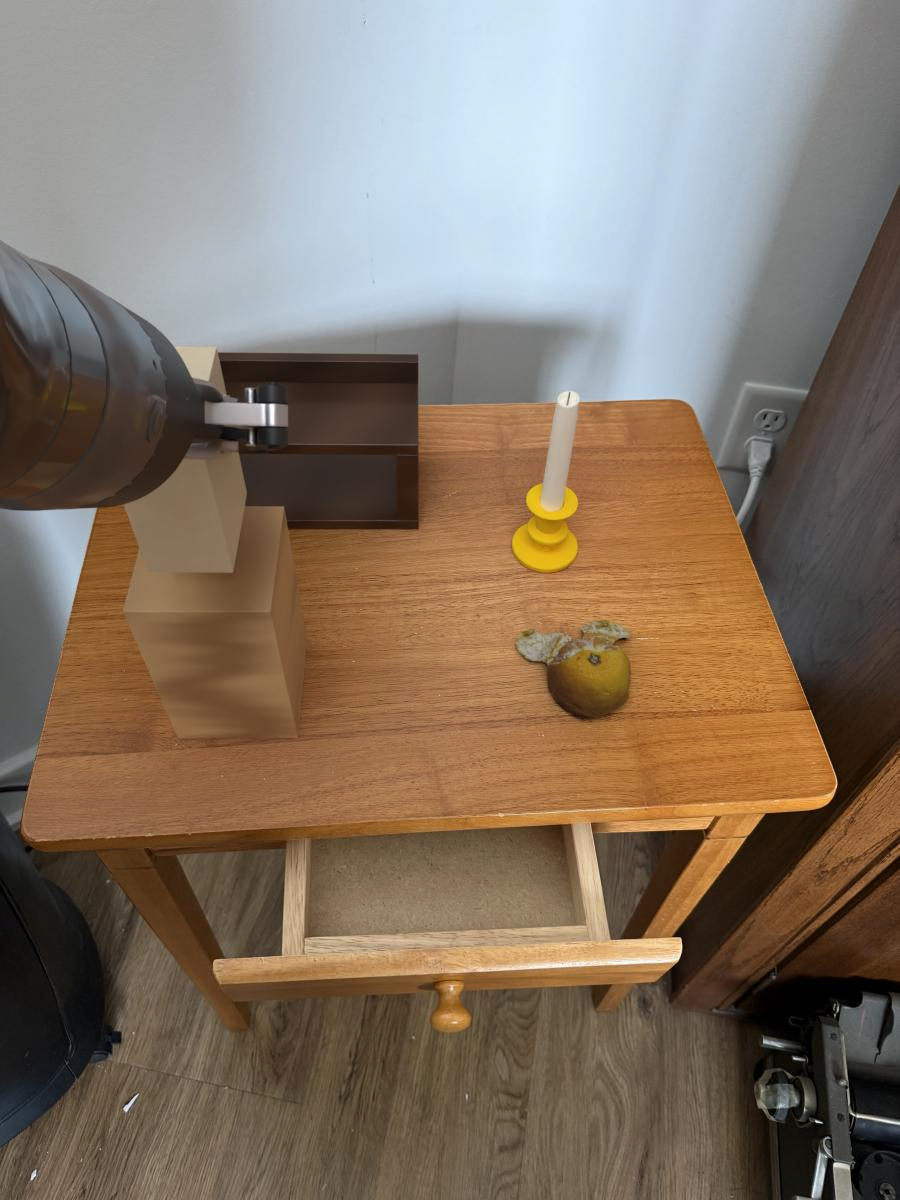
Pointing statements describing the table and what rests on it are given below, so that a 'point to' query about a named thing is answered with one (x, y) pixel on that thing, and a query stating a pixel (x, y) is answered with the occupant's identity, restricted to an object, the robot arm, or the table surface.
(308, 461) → the shelf
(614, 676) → the fruit
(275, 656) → the block
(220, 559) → the snack box
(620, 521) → the table surface
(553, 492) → the candle
